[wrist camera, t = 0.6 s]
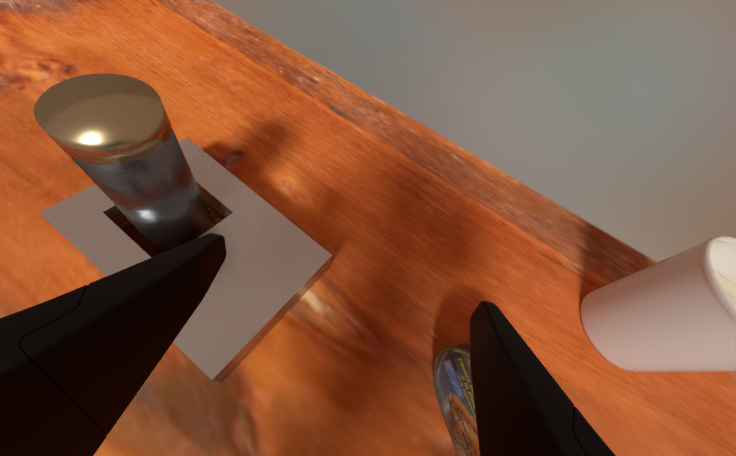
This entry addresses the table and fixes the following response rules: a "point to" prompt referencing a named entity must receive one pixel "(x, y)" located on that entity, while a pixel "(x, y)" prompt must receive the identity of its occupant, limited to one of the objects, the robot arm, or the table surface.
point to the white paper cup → (669, 313)
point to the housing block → (237, 274)
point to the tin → (457, 397)
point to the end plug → (128, 153)
